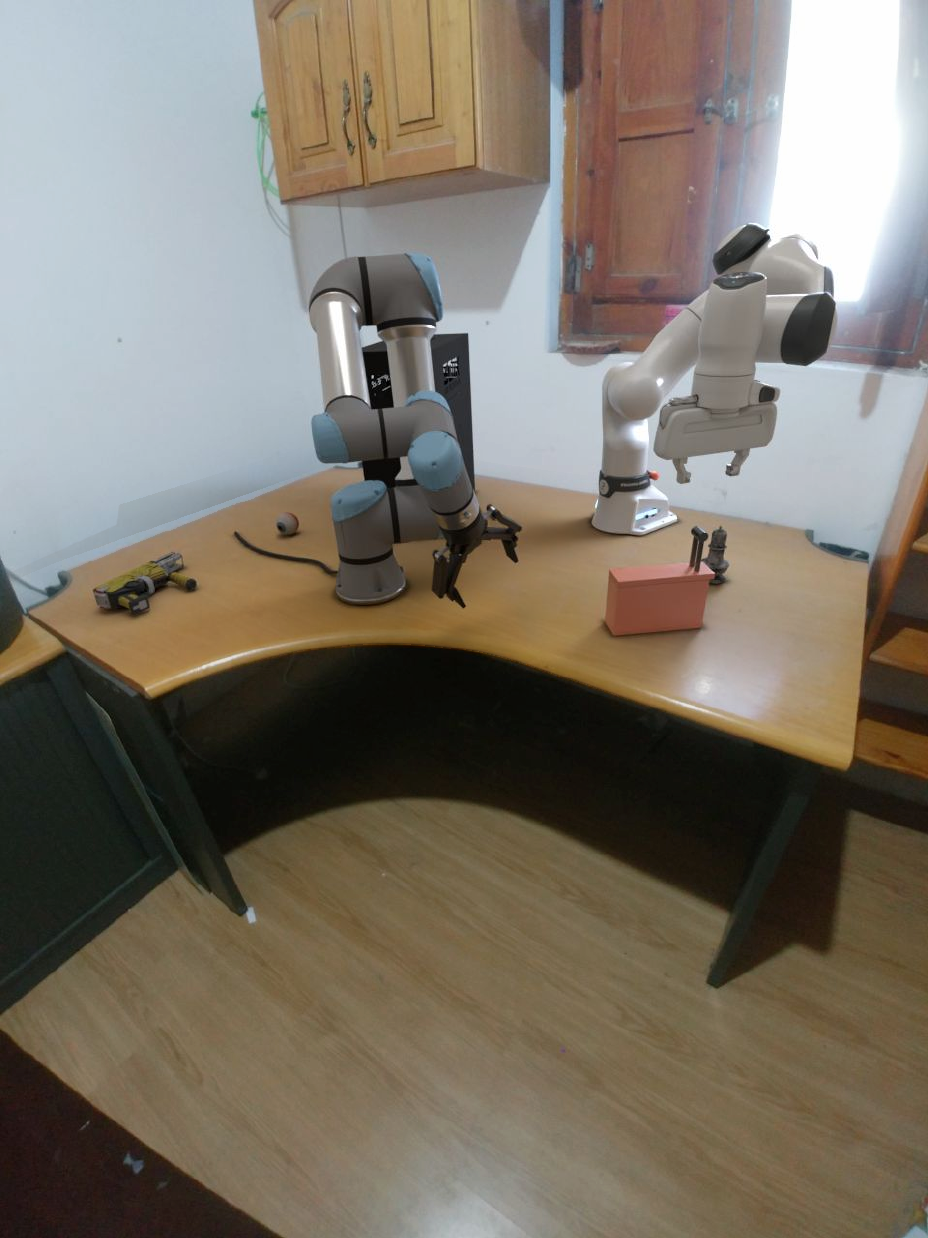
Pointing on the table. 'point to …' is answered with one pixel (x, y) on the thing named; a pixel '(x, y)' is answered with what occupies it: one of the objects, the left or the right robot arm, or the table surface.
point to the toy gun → (141, 584)
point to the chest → (655, 607)
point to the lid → (667, 568)
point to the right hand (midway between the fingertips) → (707, 478)
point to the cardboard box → (445, 385)
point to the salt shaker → (717, 555)
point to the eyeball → (287, 523)
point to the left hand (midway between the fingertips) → (486, 581)
